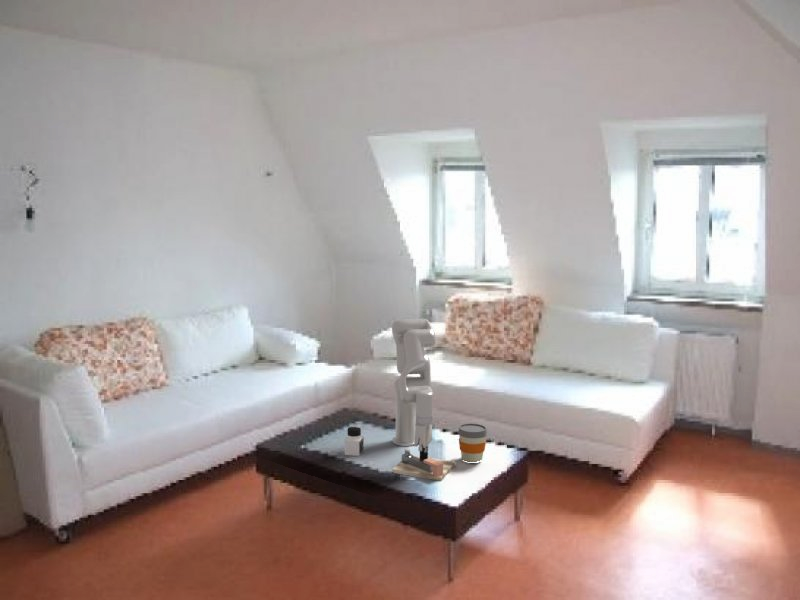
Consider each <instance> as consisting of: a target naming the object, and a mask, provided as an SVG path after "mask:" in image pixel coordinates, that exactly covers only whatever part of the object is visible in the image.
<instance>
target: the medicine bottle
mask: <svg viewBox="0 0 800 600" xmlns="http://www.w3.org/2000/svg"><path fill="white" fill-rule="evenodd" d="M364 439H365V438H364V436H363V435H362V430H361V427H359V426H355V425H354V426H350V427H349V426H348V427H347V437H346V438H345V439H344V455H345V456H353V457H354V456H356V457H360V456H361V454H362V453H363V452H364Z"/></svg>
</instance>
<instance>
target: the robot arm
mask: <svg viewBox="0 0 800 600" xmlns="http://www.w3.org/2000/svg"><path fill="white" fill-rule="evenodd" d="M391 332H392V336H393V340H394V342H395V348H396V370H397V372H398V373H399V374H400V375H399V378H397V379H396V380H395V381H394V384H393V389H394V397H395V399H394V400H395V436H394V437H393V438H391V439H392V441H391V442H392V443H393V444H394V445H396V446H400V447H413V446H414V447H416V448H417V447H418V451H419V456H420V459H422V460H425V459H428V458H429V444H431V443H432V441H433V424H434V391H433V389H432V388H431V387H432V382H431V380H432V377H431V375H432V374H431V361H430V358H429V356H428V355H427V354H425V348H429V349H431V348H434V347H435V346H436V344H437V338H436V333H435V329H434V328H433V326H432V324H431V323H430V321H429V320H428V319H426V318H400V319H396V320H394V321H393V322H392V324H391ZM408 375H419V376H408Z"/></svg>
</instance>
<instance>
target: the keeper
mask: <svg viewBox="0 0 800 600" xmlns="http://www.w3.org/2000/svg"><path fill="white" fill-rule="evenodd" d="M432 458H433V457H428V459H425V460H424V463H425V464H428V465H430V466H433V475H434V476H437V477H438V476H441V475H443V462H440V461H438V460H435V459H436V458H433V459H432Z"/></svg>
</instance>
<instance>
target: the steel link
mask: <svg viewBox="0 0 800 600" xmlns="http://www.w3.org/2000/svg"><path fill="white" fill-rule="evenodd" d="M414 456H415V455H414ZM414 456H413V454H412V453H410V456H405V453H403V454H401V461H402V462H403V463H409V464H411V465H414V466H416V467H419V468H421V469H424V470H427V471H429V472H431V471H433V466H430V465H428V464H425V463H424V460H422V459H420V458H417V457H414Z"/></svg>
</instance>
